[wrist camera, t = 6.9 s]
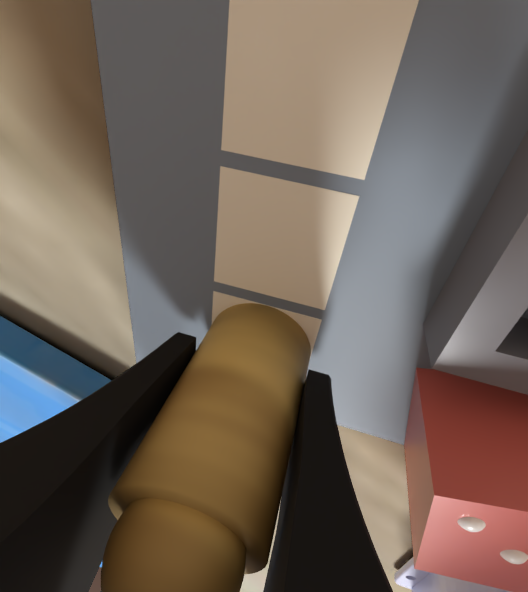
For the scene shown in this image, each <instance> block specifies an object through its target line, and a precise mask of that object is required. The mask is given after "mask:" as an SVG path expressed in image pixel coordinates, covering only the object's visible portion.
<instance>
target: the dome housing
mask: <svg viewBox="0 0 528 592" xmlns="http://www.w3.org/2000/svg"><path fill="white" fill-rule="evenodd" d="M527 308H528V130H527V132H526V134H525V135H524V137H523V139H522V141H521V143H520V145H519V147H518V149H517V150H516V152H515V154H514V156H513V158H512V160H511V162H510V163H509V165H508V167H507V169H506V171H505V173H504V175H503V176H502V178H501V180H500V182H499V184H498V186H497V188H496V189H495V191H494V193H493V195H492V197H491V199H490V201H489V202H488V204H487V206H486V208H485V210H484V212H483V214H482V216H481V217H480V219H479V221H478V223H477V225H476V227H475V229H474V230H473V232H472V234H471V236H470V238H469V240H468V242H467V243H466V245H465V247H464V249H463V251H462V253H461V255H460V256H459V258H458V260H457V262H456V264H455V266H454V268H453V269H452V271H451V273H450V275H449V277H448V279H447V281H446V283H445V284H444V286H443V288H442V290H441V292H440V294H439V296H438V297H437V299H436V301H435V303H434V305H433V307H432V309H431V310H430V312H429V314H428V316H427V318H426V320H425V322H424V323H423V326H424V331H425V336H426V341H427V347H428V352H429V357H430V362H431V368H432V369H435V370H438V371H442V372H446V373H449V374H453V375H457V376H460V377H464V378H468V379H471V380H475V381H479V382H482V383H486V384H490V385H493V386H497V387H501V388H504V389H508V390H512V391H515V392H519V393H523V394H526V395H528V319H527V318H523V317H521V316H522V315H523V313H524V312H525V311H526V309H527Z"/></svg>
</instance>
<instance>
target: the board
mask: <svg viewBox="0 0 528 592" xmlns="http://www.w3.org/2000/svg"><path fill="white" fill-rule="evenodd" d="M91 6H92V14H93V22H94V30H95V38H96V46H97V54H98V62H99V70H100V78H101V86H102V94H103V101H104V109H105V117H106V125H107V133H108V141H109V149H110V157H111V165H112V173H113V181H114V188H115V196H116V204H117V212H118V220H119V228H120V236H121V244H122V252H123V260H124V268H125V276H126V283H127V291H128V299H129V307H130V315H131V323H132V331H133V339H134V347H135V355H136V363H138V362H139V361H140V360H142V359H143V358H145V357H146V356H147V355H148V354H150V353H151V352H152V351H154V350H155V349H156V348H158V347H159V346H160V345H162V344H163V343H164V342H165V341H167V340H168V339H169V338H170V337H172V336H173V335H174V334H176V333H178V332H180V333H184V334H187V335H191V336H194V337H196V350H197V348H198V347H199V345H200V343H201V342H202V340H203V338H204V337H205V335H206V333H207V332H208V330H209V328H210V327H211V325H212V324H213V322H214V320H215V319H216V317H217V316H218V315H219V314H220V313H221V312H222V311H223V310H225V309H227V308H229V307H231V306H234V305H237V304H244V303H256V304H262V305H267V306H270V307H273V308H275V309H278V310H280V311H282V312H284V313H285V314H287V315H288V316H290V317H291V318H293V319H294V320H295V321H296V322H297V323H298V324H299V325H300V326H301V328H302V329H303V330H304V332H305V333H306V335H307V337H308V340H309V343H310V347H311V356H310V361H309V366H308V370H309V369H310V370H313V371H317V372H320V373H324V374H327V375H329V376H330V378H331V386H332V396H333V404H334V410H335V416H336V422H337V425H340V426H343V427H346V428H349V429H353V430H356V431H359V432H363V433H366V434H369V435H373V436H376V437H379V438H382V439H386V440H389V441H392V442H396V443H399V444H402V445H404V442H405V436H406V429H407V423H408V417H409V410H410V404H411V398H412V391H413V385H414V379H415V372H416V368H426V369H432V368H431V362H430V357H429V352H428V347H427V341H426V336H425V331H424V326H423V323H424V322H425V320H426V318H427V316H428V314H429V312H430V310H431V309H432V307H433V305H434V303H435V301H436V299H437V297H438V296H439V294H440V292H441V290H442V288H443V286H444V284H445V283H446V281H447V279H448V277H449V275H450V273H451V271H452V269H453V268H454V266H455V264H456V262H457V260H458V258H459V256H460V255H461V253H462V251H463V249H464V247H465V245H466V243H467V242H468V240H469V238H470V236H471V234H472V232H473V230H474V229H475V227H476V225H477V223H478V221H479V219H480V217H481V216H482V214H483V212H484V210H485V208H486V206H487V204H488V202H489V201H490V199H491V197H492V195H493V193H494V191H495V189H496V188H497V186H498V184H499V182H500V180H501V178H502V176H503V175H504V173H505V171H506V169H507V167H508V165H509V163H510V162H511V160H512V158H513V156H514V154H515V152H516V150H517V149H518V147H519V145H520V143H521V141H522V139H523V137H524V135H525V134H526V132H527V130H528V0H91ZM521 317H523V318H527V319H528V308H527V309H526V311H525V312H524V313H523V315H522V316H521ZM308 370H307V374H308ZM306 377H307V375H306Z"/></svg>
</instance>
